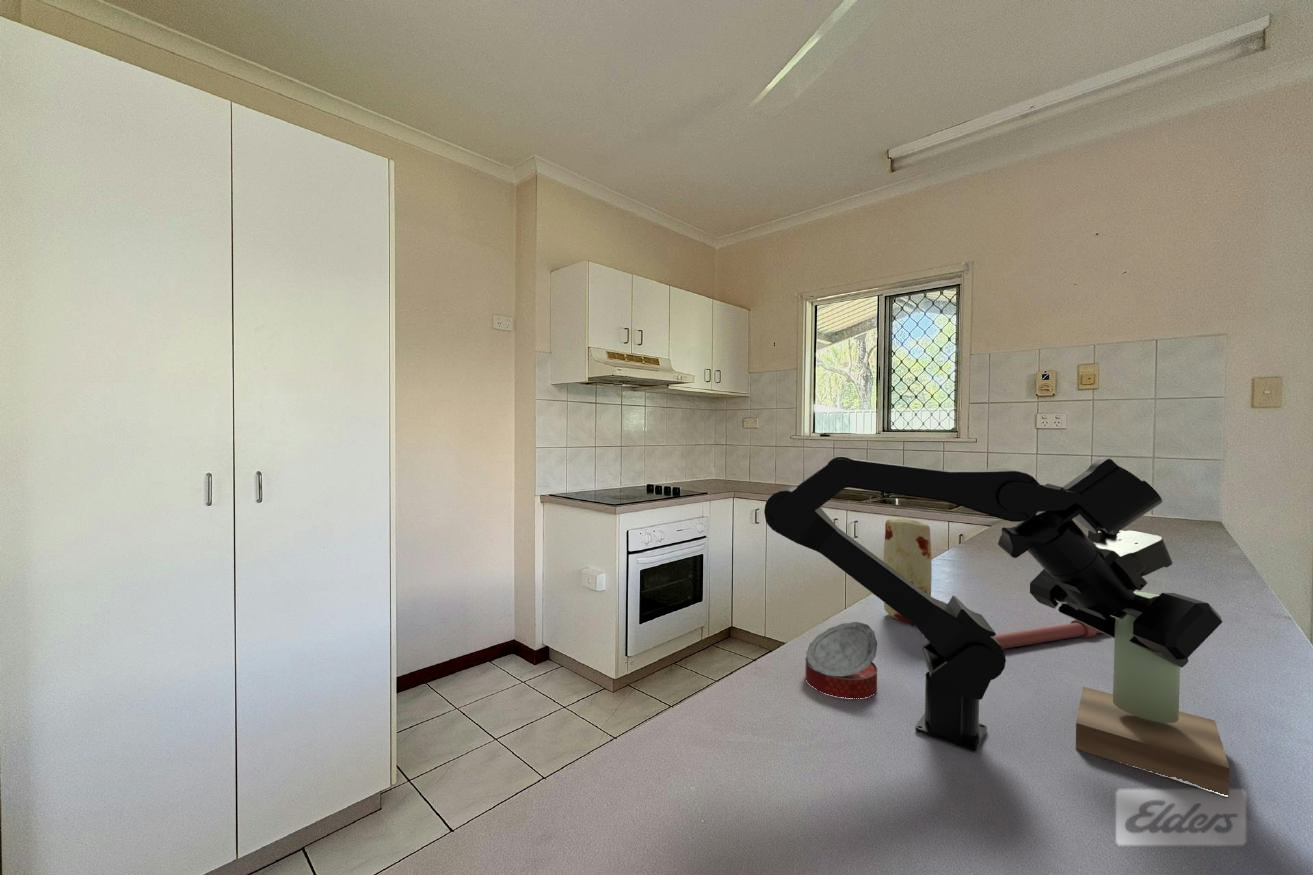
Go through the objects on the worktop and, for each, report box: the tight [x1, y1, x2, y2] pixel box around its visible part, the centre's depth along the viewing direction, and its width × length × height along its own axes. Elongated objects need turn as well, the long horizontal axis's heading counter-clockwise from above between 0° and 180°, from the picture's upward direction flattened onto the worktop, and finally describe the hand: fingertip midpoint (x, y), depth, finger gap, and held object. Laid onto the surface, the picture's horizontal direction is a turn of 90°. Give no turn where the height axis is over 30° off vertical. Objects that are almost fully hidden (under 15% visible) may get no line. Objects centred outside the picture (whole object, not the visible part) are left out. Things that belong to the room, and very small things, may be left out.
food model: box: [882, 517, 933, 626], centre depth 102 cm, size 10×7×20 cm
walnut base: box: [1075, 686, 1231, 797], centre depth 61 cm, size 12×12×3 cm
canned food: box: [804, 621, 878, 699], centre depth 76 cm, size 11×10×10 cm
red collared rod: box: [994, 619, 1103, 650], centre depth 94 cm, size 45×3×3 cm, turn 109°
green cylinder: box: [1112, 590, 1181, 723], centre depth 61 cm, size 6×6×13 cm
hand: (1157, 652), depth 61 cm, fingers closed on green cylinder, 5 cm apart
